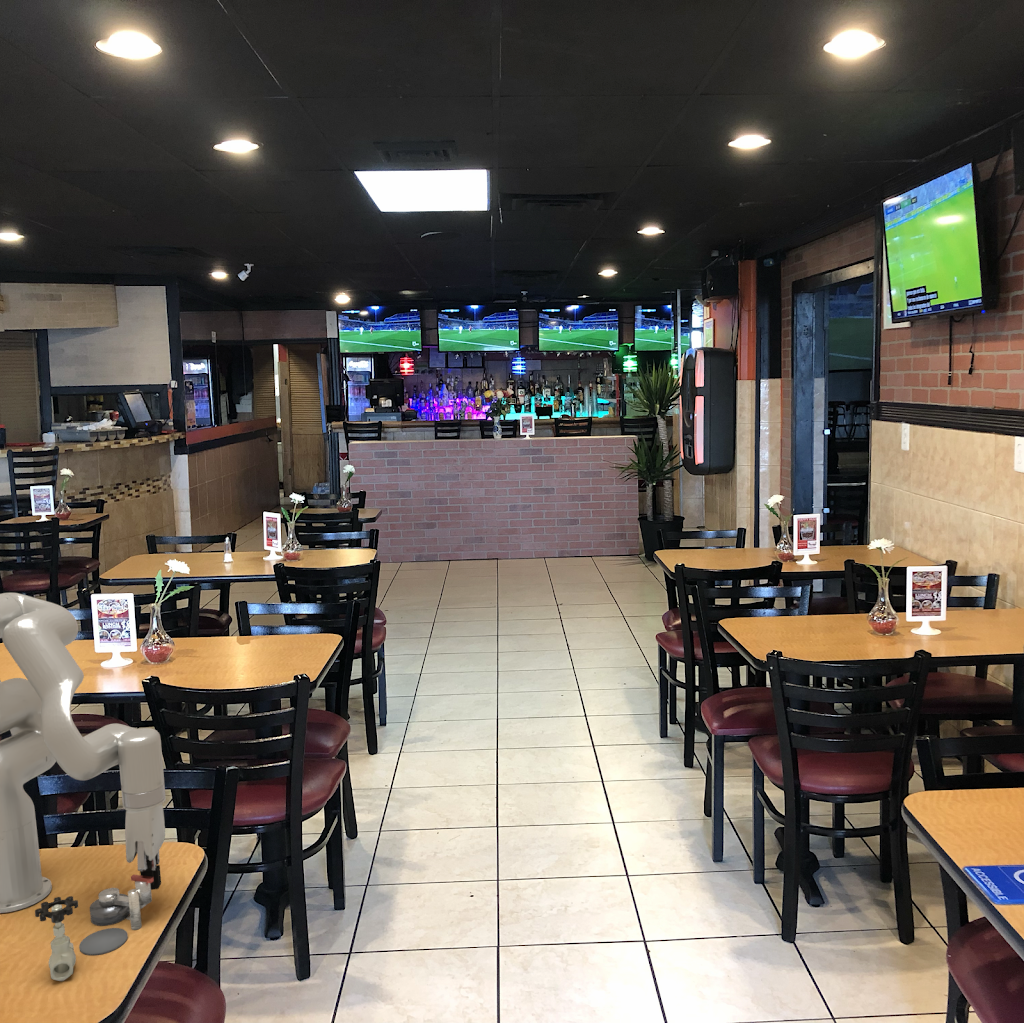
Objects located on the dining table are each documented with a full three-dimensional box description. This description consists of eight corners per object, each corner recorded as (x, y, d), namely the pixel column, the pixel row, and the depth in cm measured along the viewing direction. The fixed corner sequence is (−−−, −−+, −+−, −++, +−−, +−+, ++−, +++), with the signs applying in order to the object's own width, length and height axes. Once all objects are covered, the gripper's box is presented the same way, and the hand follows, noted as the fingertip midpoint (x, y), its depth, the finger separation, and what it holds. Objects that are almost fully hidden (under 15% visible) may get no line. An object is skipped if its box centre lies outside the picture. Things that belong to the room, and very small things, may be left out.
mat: (69, 952, 165) (69, 950, 165) (100, 927, 172) (100, 925, 172) (107, 957, 162) (106, 955, 162) (137, 932, 170) (137, 930, 170)
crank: (95, 905, 175) (92, 875, 174) (108, 895, 178) (105, 866, 178) (148, 913, 171) (145, 882, 171) (161, 903, 175) (158, 873, 174)
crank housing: (82, 923, 174) (78, 888, 173) (108, 904, 181) (105, 869, 180) (136, 930, 171) (133, 894, 170) (161, 910, 177) (157, 875, 176)
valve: (40, 988, 154) (33, 920, 153) (43, 967, 160) (36, 901, 159) (84, 977, 157) (77, 909, 156) (85, 956, 163) (78, 892, 162)
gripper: (134, 781, 182) (142, 870, 184) (110, 814, 167) (119, 910, 169) (174, 778, 183) (181, 867, 185) (153, 810, 168) (161, 906, 170)
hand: (151, 887), depth 177 cm, fingers closed
